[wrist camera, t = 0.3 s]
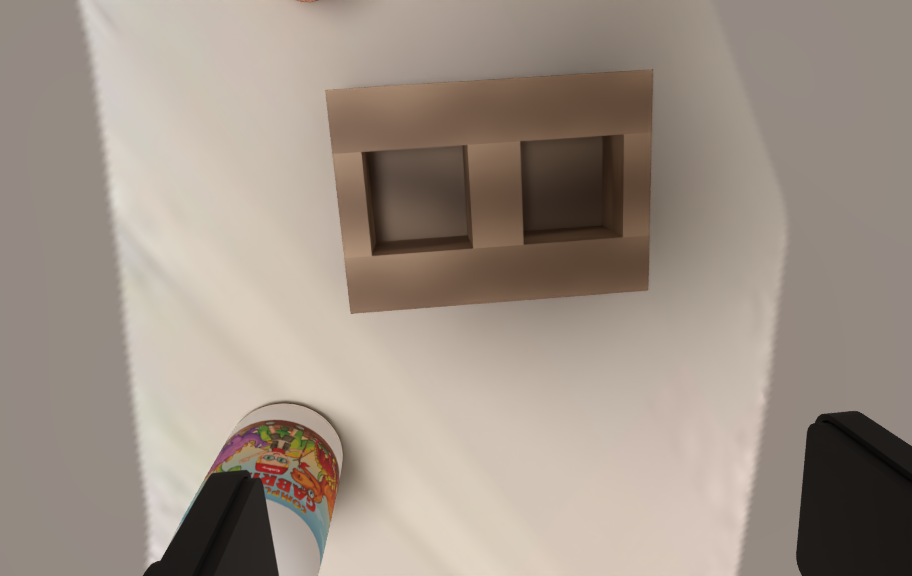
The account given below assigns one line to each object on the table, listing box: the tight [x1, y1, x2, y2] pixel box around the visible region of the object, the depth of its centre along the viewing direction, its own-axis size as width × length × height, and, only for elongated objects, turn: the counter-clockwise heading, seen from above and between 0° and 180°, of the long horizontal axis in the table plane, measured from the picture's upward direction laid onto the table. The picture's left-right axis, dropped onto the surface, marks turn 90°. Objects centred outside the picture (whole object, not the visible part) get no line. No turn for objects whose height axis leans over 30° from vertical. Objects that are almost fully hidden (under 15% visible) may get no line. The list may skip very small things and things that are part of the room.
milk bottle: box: [171, 403, 343, 576], centre depth 33 cm, size 8×8×20 cm
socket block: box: [325, 69, 653, 314], centre depth 36 cm, size 12×17×5 cm
